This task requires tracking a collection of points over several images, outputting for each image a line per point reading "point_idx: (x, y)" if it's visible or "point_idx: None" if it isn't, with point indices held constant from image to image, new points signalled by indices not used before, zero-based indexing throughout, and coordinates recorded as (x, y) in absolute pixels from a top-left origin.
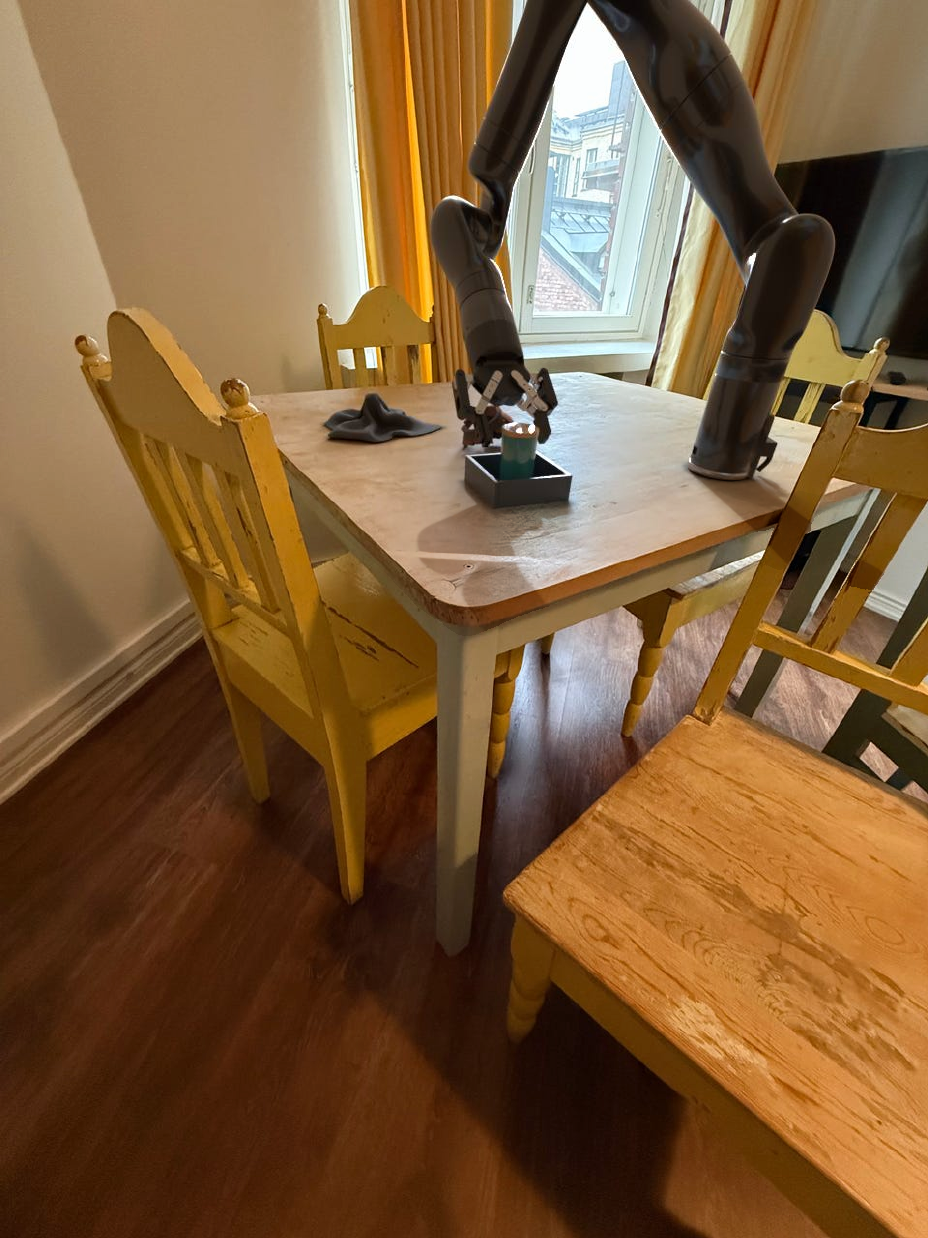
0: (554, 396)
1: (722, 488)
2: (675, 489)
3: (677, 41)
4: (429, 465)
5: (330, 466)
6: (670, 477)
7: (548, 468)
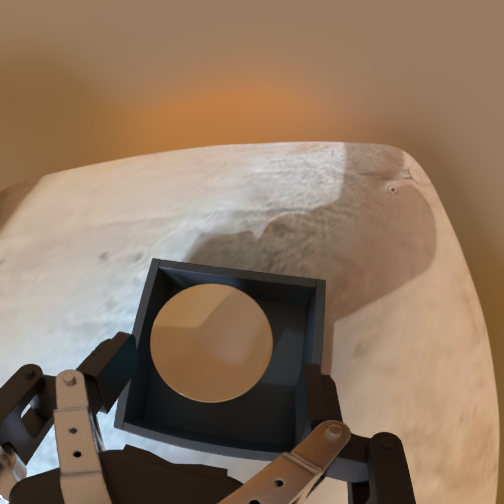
0: (12, 382)
1: None
2: (11, 259)
3: None
4: None
5: None
6: None
7: (143, 344)
